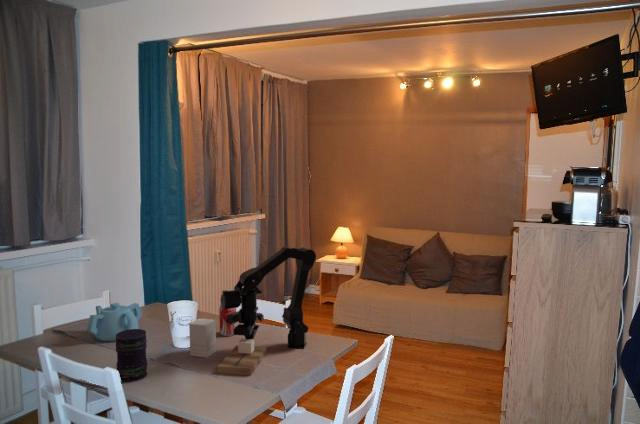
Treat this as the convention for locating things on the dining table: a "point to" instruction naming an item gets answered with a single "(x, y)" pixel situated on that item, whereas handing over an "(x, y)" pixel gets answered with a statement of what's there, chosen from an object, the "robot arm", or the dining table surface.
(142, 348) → the storage jar
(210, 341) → the supplement box
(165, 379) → the dining table surface
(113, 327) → the teapot
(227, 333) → the soda can
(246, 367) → the brown flat block
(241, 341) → the fader knob
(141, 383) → the dining table surface
